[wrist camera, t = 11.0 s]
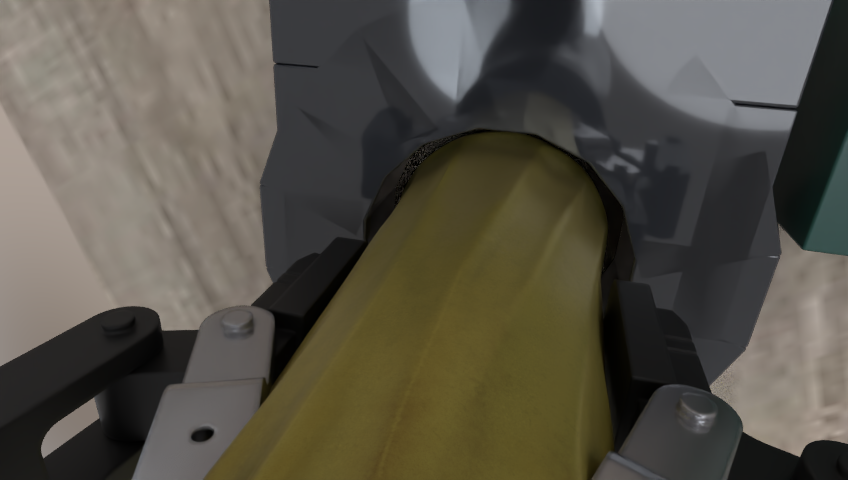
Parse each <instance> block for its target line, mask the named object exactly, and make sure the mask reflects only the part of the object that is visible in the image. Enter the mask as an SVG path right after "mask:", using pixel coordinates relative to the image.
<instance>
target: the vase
mask: <svg viewBox="0 0 848 480" xmlns="http://www.w3.org/2000/svg"><path fill="white" fill-rule="evenodd" d="M607 235H608V222H607V216H606V212H605V209H604V205H603V203H602V200H601V197H600V195H599V193H598V190H597V188H596V186H595V185H594V183H593V181H592V179H591V178H590V176H589V175H588V174H587V172H586V171H585V170H584V169H583V168H582V167H581V166H580V165H579V164H578V163H577V162H576V161H574V160H573V159H572V158H571V157H569V156H568V155H567V154H565V153H564V152H562V151H561V150H559V149H557V148H555V147H553V146H552V145H550V144H548V143H546V142H544V141H542V140H540V139H537V138H535V137H532V136H530V135H525V134H520V133H513V132H495V131H492V132H480V133H474V134H469V135H466V136H463V137H460V138H457V139H455V140H453V141H451V142H449V143H447V144H445V145H444V146H442V147H441V148H439V149H438V150H436V151H435V152H433V153H432V154H430V155H429V156H428V157H427V158H426V159H425V160H424V161H423V162H422V163H421V164H420V165H419V166H418V167H417V168H416V170H415V171H414V173H413V174H412V176H411V178H410V179H409V181H408V183H407V184H406V186H405V188H404V190H403V193H402V196H401V199H400V202H399V203H398V205H397V206H396V208H395V209H394V211H393V212H392V214H391V215H390V216H389V218H388V219H387V220H386V221H385V223H384V224H383V225H382V226H381V228H380V229H379V230H378V232H377V233H376V235H375V236H374V237H373V239H372V240H371V242H370V243H369V245H368V246H367V248H366V249H365V251H364V252H363V254H362V255H361V257H360V258H359V260H358V261H357V263H356V264H355V266H354V267H353V269H352V270H351V272H350V273H349V275H348V276H347V278H346V279H345V281H344V282H343V284H342V285H341V286H340V288H339V289H338V291H337V292H336V294H335V295H334V296H333V298H332V299H331V301H330V302H329V304H328V305H327V306H326V308H325V309H324V311H323V312H322V314H321V315H320V317H319V318H318V319H317V321H316V322H315V324H314V325H313V327H312V328H311V330H310V331H309V333H308V334H307V336H306V337H305V338H304V340H303V341H302V343H301V344H300V346H299V347H298V349H297V350H296V352H295V353H294V355H293V356H292V358H291V359H290V361H289V362H288V364H287V365H286V366H285V368H284V369H283V371H282V372H281V374H280V375H279V377H278V378H277V380H276V381H275V382H274V384H273V385H272V387H271V389H270V392H269V396H268V397H267V398H266V400H265V401H264V402H263V404H262V405H261V406H260V407H259V409H258V410H257V411H256V413H255V414H254V415H253V416H252V418H251V419H250V420H249V421H248V423H247V424H246V425H245V426H244V427H243V429H242V430H241V431H240V432H239V434H238V435H237V436H236V437H235V439H234V440H233V441H232V442H231V444H230V445H229V446H228V447H227V449H226V450H225V451H224V453H223V454H222V455H221V456H220V458H219V459H218V460H217V462H216V463H215V464H214V466H213V467H212V468H211V469H210V471H209V472H208V473H207V475H206V476H205V477H204V479H203V480H591V479H592V477H593V476H594V474H595V472H596V471H597V469H598V468H599V466H600V464H601V463H602V461H603V459H604V458H605V456H606V455H607V454H608V452H609V451H610V450H613V451H615V449H614V439H613V430H612V422H611V414H610V407H609V400H608V394H607V387H606V381H605V354H604V322H603V306H602V292H601V271H602V268H603V262H604V256H605V250H606V244H607Z"/></svg>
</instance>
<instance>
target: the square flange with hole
mask: <svg viewBox="0 0 848 480" xmlns="http://www.w3.org/2000/svg"><path fill="white" fill-rule="evenodd" d="M834 1H835V0H269V4H270V20H271V36H272V51H273V61H274V62H275V63H277V64H274V83H275V99H276V115H277V133H276V136H275V139H274V142H273V145H272V148H271V151H270V154H269V157H268V160H267V163H266V166H265V169H264V172H263V175H262V178H261V181H260V184H261V185H260V197H261V209H262V222H263V234H264V247H265V259H266V267H267V271H268V273H269V276H270V278H271V280H272V282H273V283H274V282H277V279H278V278H279V277H280V276H281V275H282V274H283V273H286V270H287V269H288V268H289V267H290V266H292V265H293V264H294V263H295V262H296V261H297V260H299V259H301V258H303V257H305V256H308V255H310V254H312V253H319V254H321V253H322V252H323V251H324V250H325V249H326V248H327V247H328V245H329V244H330V243H331V242H332V241H333V240H334V239H335V238H336V237H343V238H349V239H356V240H363V241H367V242H368V244H369V243H370V242H371V240H372V239H373V237H374V236H375V235H376V233H377V232H378V230H379V229H380V228H381V226H382V225H383V224H384V223H385V221H386V220H387V219H388V218H389V216H390V215H391V214H392V212H393V211H394V209H395V192H396V185H397V183H398V181H399V179H400V177H401V175H402V173H403V171H404V169H405V167H406V164H407V162H408V160H409V158H410V156H411V155H413V154H414V153H415V152H416V151H417V150H419V149H420V148H421V147H422V146H423V145H424V144H428V143H431V142H434V141H438V140H441V139H444V138H448V137H451V136H454V135H458V134H461V133H464V132H468V131H471V130H475V129H486V130H496V131H505V132H515V133H524V134H534V135H537V136H539V137H541V138H543V139H545V140H547V141H548V142H550V143H552V144H554V145H556V146H558V147H559V148H561V149H563V150H565V151H567V152H569V153H571V154H572V155H574V156H576V157H578V158H580V159H582V160H584V161H585V162H587V163H588V164H589V165H590V166H591V168H592V169H593V170H594V171H595V173H596V174H597V175H598V176H599V178H600V179H601V180H602V182H603V183H604V184H605V185H606V187H607V188H608V189H609V190H610V192H611V193H612V194H613V196H614V197H615V198H616V199H617V201H618V202H619V203H620V204H621V207H622V211H623V215H624V218H623V223H622V227H621V232H620V236H619V241H618V245H617V250H616V255H615V259H614V260H613V261H612V263H611V264H610V265H609V267H608V268H607V269H606V271H605V272H604V273H603V275H602V276H601V292H602V306H603V320H604V316H605V311H606V307H607V303H608V298H609V294H610V289H611V286H612V283H613V281H614V279H617V280H624V281H630V282H637V283H643V284H649V285H650V287H651V291H652V294H653V298H654V302H655V305H656V308H662V309H668V310H673V311H674V312H675V313H676V314H677V315H678V316H679V317H680V318H681V319H682V320H683V321H684V322H685V323H686V324H687V326H688V329H689V331H690V334H691V337H692V343H694V345H695V348H696V351H697V355H698V356H699V359H700V362H701V365H702V368H703V370H704V373H705V376H706V379H707V381H708V384H709V386H710V385H711V384H712V383H713V382H714V381H715V380H716V379H717V378H718V377H719V376H720V375H721V374H722V373H723V372H724V371H725V370H726V369H727V368H728V367H729V366H730V365H731V364H732V363H733V362H734V361H735V360H736V359H737V358H738V357H739V356H740V355H741V354H742V353H743V352H744V351H745V350H746V347H747V346H748V344H749V341H750V338H751V336H752V333H753V330H754V327H755V325H756V322H757V319H758V316H759V314H760V311H761V308H762V305H763V303H764V300H765V297H766V294H767V292H768V289H769V286H770V283H771V281H772V278H773V275H774V272H775V270H776V267H777V264H778V261H779V259H780V255H781V245H780V238H779V230H778V223H777V215H776V208H775V201H774V193H773V185H774V182H775V179H776V176H777V173H778V170H779V167H780V164H781V161H782V158H783V155H784V152H785V149H786V146H787V143H788V140H789V137H790V134H791V131H792V128H793V125H794V122H795V119H796V116H797V113H798V110H796V109H795V108H798V107H799V105H800V102H801V99H802V96H803V93H804V90H805V87H806V84H807V81H808V78H809V75H810V72H811V69H812V66H813V63H814V60H815V58H816V55H817V52H818V49H819V46H820V43H821V40H822V37H823V34H824V31H825V28H826V25H827V22H828V19H829V16H830V13H831V10H832V7H833V4H834Z"/></svg>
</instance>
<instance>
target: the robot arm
mask: <svg viewBox="0 0 848 480" xmlns="http://www.w3.org/2000/svg"><path fill="white" fill-rule="evenodd" d="M368 245H369V244H368V242H367V241H363V240H356V239H349V238H343V237H336V238H335V239H334V240H333V241H332V242H331V243H330V244H329V245H328V247H327V248H326V249H325V250H324V251H323V252H322V253H321V254H319V253H312V254H310V255H308V256H305V257H303V258H301V259H299V260H297V261H296V262H295V263H294V264H293V265H292V266H290V267H289V268H288V269H287V270H286V273H283V274H282V275H281V276H280V277H279V278H278V279H277V282H274V283H273V284H272V285H271V286H270V287H269V288H268V289H267V290H266V291H265V292H264V293H263V294H262V295H261V296H260V297H259V298H258V299H257V300H256V301H255V302H254V303H253V304H252V305H251V306H234V307H229V308H225V309H222V310H220V311H217V312H215V313H213V314H211V315H210V316H208V317H207V318H206V319H205V320H204V321H203V322H202V324H201V326H200V329H199V330H176V331H162V329H161V323H160V318H159V315H158V314H157V313H156V312H155V311H154V310H152V309H149V308H145V307H136V306H131V307H121V308H116V309H112V310H109V311H105V312H103V313H100V314H98V315H95V316H93V317H92V318H90V319H88V320H86V321H85V322H82V323H80V324H79V325H77V326H75V327H73V328H71V329H69V330H67V331H66V332H64V333H62V334H60V335H58V336H56V337H54V338H53V339H51V340H49V341H47V342H45V343H43V344H42V345H39V346H38V347H36V348H34V349H32V350H30V351H28V352H27V353H25V354H23V355H21V356H19V357H17V358H15V359H13V360H12V361H10V362H8V363H6V364H4V365H2V366H0V480H203V479H204V477H205V476H206V475H207V473H208V472H209V471H210V469H211V468H212V467H213V466H214V464H215V463H216V462H217V460H218V459H219V458H220V456H221V455H222V454H223V453H224V451H225V450H226V449H227V447H228V446H229V445H230V444H231V442H232V441H233V440H234V439H235V437H236V436H237V435H238V434H239V432H240V431H241V430H242V429H243V427H244V426H245V425H246V424H247V423H248V421H249V420H250V419H251V418H252V416H253V415H254V414H255V413H256V411H257V410H258V409H259V407H260V406H261V405H262V404H263V402H264V401H265V400H266V398H267V397H268V396H269V392H270V389H271V387H272V385H273V384H274V382H275V381H276V380H277V378H278V377H279V375H280V374H281V372H282V371H283V369H284V368H285V366H286V365H287V364H288V362H289V361H290V359H291V358H292V356H293V355H294V353H295V352H296V350H297V349H298V347H299V346H300V344H301V343H302V341H303V340H304V338H305V337H306V336H307V334H308V333H309V331H310V330H311V328H312V327H313V325H314V324H315V322H316V321H317V319H318V318H319V317H320V315H321V314H322V312H323V311H324V309H325V308H326V306H327V305H328V304H329V302H330V301H331V299H332V298H333V296H334V295H335V294H336V292H337V291H338V289H339V288H340V286H341V285H342V284H343V282H344V281H345V279H346V278H347V276H348V275H349V273H350V272H351V270H352V269H353V267H354V266H355V264H356V263H357V261H358V260H359V258H360V257H361V255H362V254H363V252H364V251H365V249H366V248H367V246H368ZM603 322H604V354H605V381H606V387H607V394H608V400H609V407H610V414H611V422H612V430H613V439H614V449H615V451H613V450H610V451H609V452H608V454H607V455H606V456H605V458H604V459H603V461H602V463H601V464H600V466H599V468H598V469H597V471H596V472H595V474H594V476H593V477H592V479H591V480H848V444H846V443H841V442H837V441H830V440H820V441H814V442H811V443H809V444H808V445H806V447H805V448H804V450H803V452H802V454H801V456H800V457H798V456H795V455H793V454H790V453H788V452H785V451H783V450H780V449H778V448H775V447H773V446H770V445H768V444H765V443H763V442H761V441H759V440H756V439H755V438H753V437H751V436H749V435H747V434H746V433H744V432H743V425H742V421H741V419H740V417H739V416H738V414H737V413H736V411H735V410H734V409H733V408H732V407H731V406H730V405H728V404H727V403H726V402H725V401H723V400H722V399H720V398H719V397H717V396H715V395H714V394H712V393H711V390H710V387H709V384H708V381H707V379H706V376H705V373H704V370H703V368H702V365H701V362H700V359H699V356H698V355H697V351H696V348H695V345H694V343H692V337H691V334H690V331H689V329H688V326H687V324H686V323H685V322H684V321H683V320H682V319H681V318H680V317H679V316H678V315H677V314H676V313H675V312H674V311H673V310H668V309H662V308H656V305H655V302H654V298H653V294H652V291H651V287H650V285H649V284H643V283H637V282H630V281H624V280H617V279H614V281H613V283H612V286H611V289H610V294H609V298H608V303H607V307H606V311H605V316H604V320H603ZM92 398H95V402H96V405H97V410H98V414H99V419H98V420H96V421H95V422H93V423H92V424H91V425H89V426H88V427H86V428H85V429H84V430H83V431H81V432H80V433H78V434H77V435H75V436H74V437H73V438H71V439H70V440H68V441H67V442H66V443H64V444H63V445H61V446H60V447H59V448H57V449H56V450H54V451H53V452H52V453H51V454H49V455H48V456H46V457H45V458H43V457H42V454H41V445H42V441H43V439H44V437H45V435H46V433H47V432H48V431H49V430H50V428H51V427H52V426H53V425H54V424H56V423H57V422H58V421H60V420H61V419H62V418H64V417H65V416H67V415H68V414H70V413H71V412H73V411H74V410H75V409H77V408H79V407H80V406H82V405H83V404H85V403H86V402H88V401H89V400H91V399H92Z"/></svg>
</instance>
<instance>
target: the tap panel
mask: <svg viewBox="0 0 848 480" xmlns="http://www.w3.org/2000/svg"><path fill="white" fill-rule="evenodd" d="M795 109H796V110H798V113H797V116H796V119H795V122H794V125H793V128H792V131H791V134H790V137H789V140H788V143H787V146H786V149H785V152H784V155H783V158H782V161H781V164H780V167H779V170H778V173H777V176H776V179H775V182H774V185H773V193H774V201H775V208H776V215H777V222H778V224H779V225H780V226H781V227H782V228H783V229H784V230H785V231H786V232H787V233H788V234H789V235H790V237H791V238H792V239H793V240H794V241H795V242H796V243H797V244H798V245H799V246H800V247H801V249H803V250H807V251H815V252H822V253H830V254H837V255H845V256H848V0H835V1H834V4H833V7H832V10H831V13H830V16H829V19H828V22H827V25H826V28H825V31H824V34H823V37H822V40H821V43H820V46H819V49H818V52H817V55H816V58H815V60H814V63H813V66H812V69H811V72H810V75H809V78H808V81H807V84H806V87H805V90H804V93H803V96H802V99H801V102H800V105H799V107H798V108H795Z"/></svg>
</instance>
